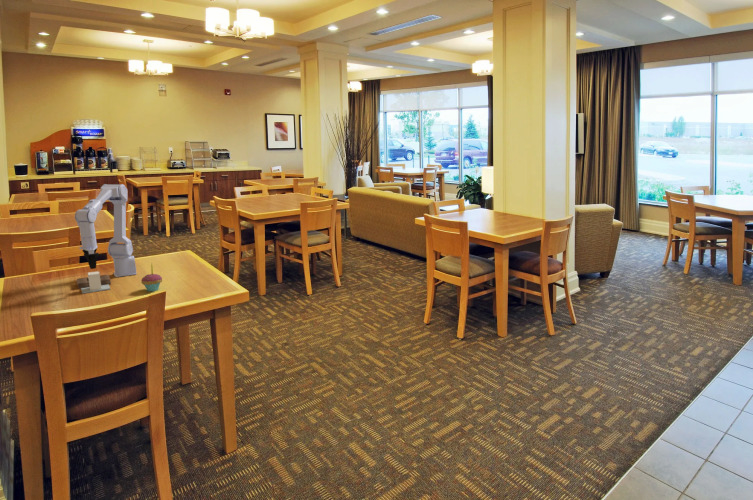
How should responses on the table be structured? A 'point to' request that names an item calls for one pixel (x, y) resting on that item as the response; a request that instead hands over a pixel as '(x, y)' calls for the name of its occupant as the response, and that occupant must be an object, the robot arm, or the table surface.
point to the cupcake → (152, 281)
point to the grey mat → (87, 290)
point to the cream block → (94, 280)
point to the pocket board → (85, 281)
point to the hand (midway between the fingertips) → (92, 266)
